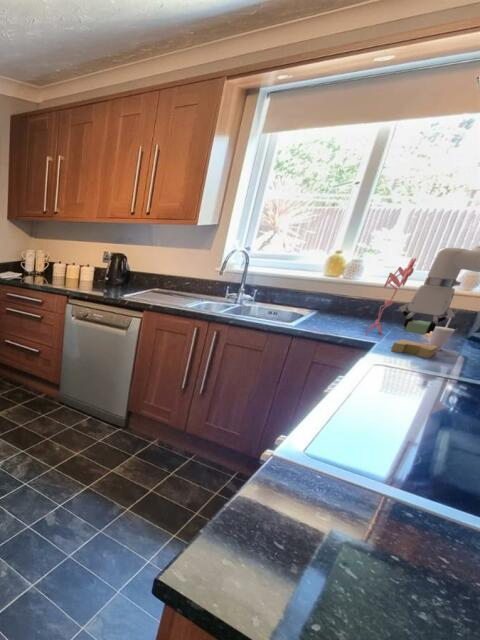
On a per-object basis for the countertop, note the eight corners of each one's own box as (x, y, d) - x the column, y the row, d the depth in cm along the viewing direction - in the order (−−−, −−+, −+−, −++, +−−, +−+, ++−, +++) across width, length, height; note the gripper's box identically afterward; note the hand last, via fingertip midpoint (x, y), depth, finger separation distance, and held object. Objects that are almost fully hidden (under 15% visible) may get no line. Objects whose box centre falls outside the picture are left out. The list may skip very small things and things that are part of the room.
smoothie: (448, 354, 171) (464, 320, 166) (428, 352, 173) (444, 318, 168) (437, 350, 177) (453, 317, 172) (418, 347, 179) (433, 315, 174)
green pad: (430, 331, 164) (434, 322, 162) (424, 334, 158) (428, 325, 157) (411, 328, 168) (414, 319, 166) (404, 331, 162) (408, 322, 161)
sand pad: (434, 354, 170) (438, 346, 169) (428, 358, 164) (432, 349, 163) (397, 347, 178) (401, 339, 177) (390, 350, 172) (394, 342, 171)
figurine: (361, 336, 195) (393, 257, 182) (364, 327, 212) (393, 255, 199) (407, 343, 185) (444, 261, 172) (406, 334, 203) (439, 258, 190)
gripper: (475, 286, 151) (450, 335, 158) (409, 279, 164) (390, 324, 170) (471, 287, 147) (446, 337, 154) (405, 280, 160) (384, 326, 166)
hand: (417, 330), depth 162 cm, fingers closed on green pad, 5 cm apart
